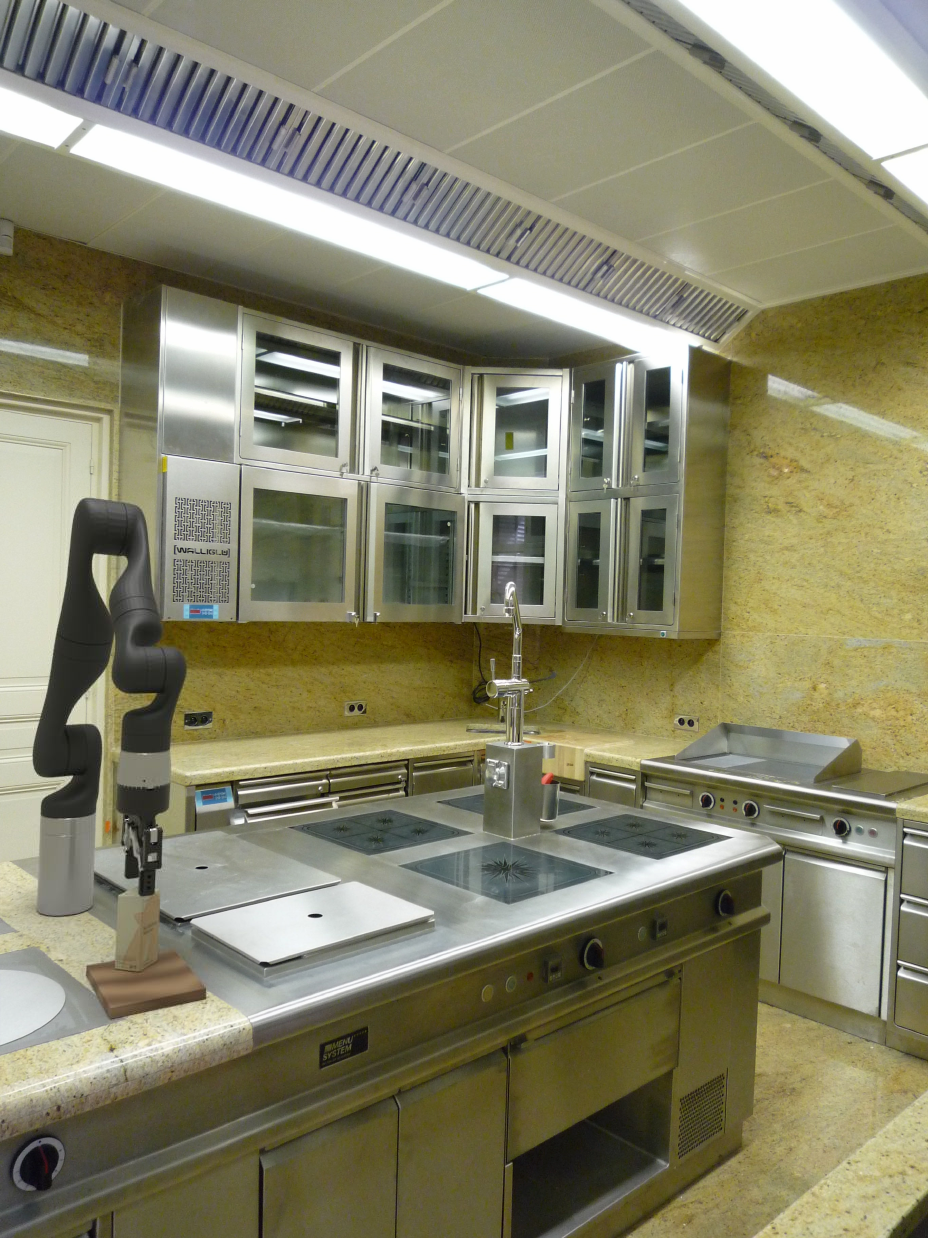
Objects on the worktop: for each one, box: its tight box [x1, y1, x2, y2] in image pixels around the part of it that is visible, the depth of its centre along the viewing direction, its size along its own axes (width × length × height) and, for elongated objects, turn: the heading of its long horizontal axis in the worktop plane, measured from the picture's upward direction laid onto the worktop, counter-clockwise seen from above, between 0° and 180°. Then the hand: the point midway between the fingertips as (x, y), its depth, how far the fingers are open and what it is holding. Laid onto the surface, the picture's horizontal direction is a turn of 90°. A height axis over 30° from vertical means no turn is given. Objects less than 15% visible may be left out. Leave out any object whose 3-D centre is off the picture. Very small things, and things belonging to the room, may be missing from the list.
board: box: [85, 949, 207, 1020], centre depth 128 cm, size 16×13×2 cm
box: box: [114, 885, 162, 972], centre depth 133 cm, size 5×4×11 cm
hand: (139, 886), depth 132 cm, fingers open, 8 cm apart
